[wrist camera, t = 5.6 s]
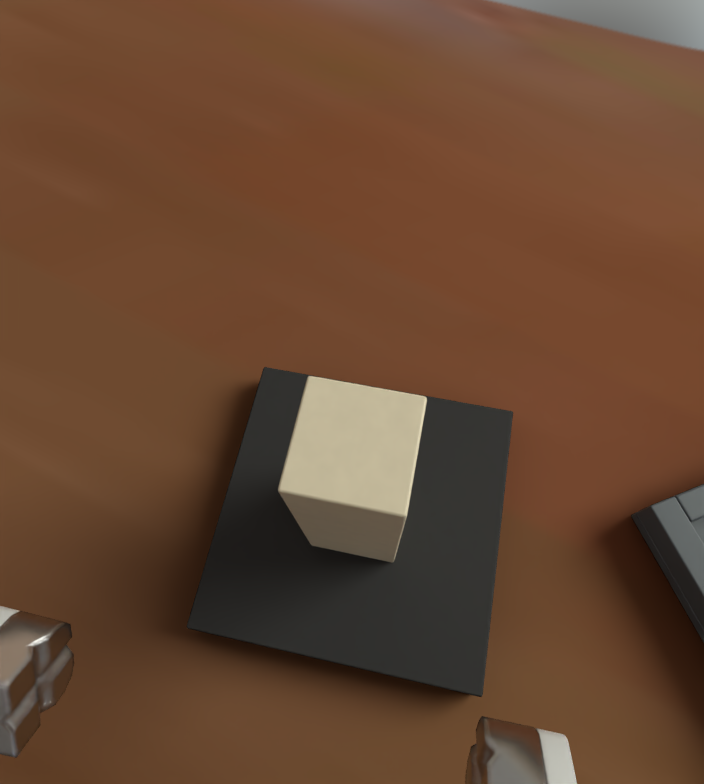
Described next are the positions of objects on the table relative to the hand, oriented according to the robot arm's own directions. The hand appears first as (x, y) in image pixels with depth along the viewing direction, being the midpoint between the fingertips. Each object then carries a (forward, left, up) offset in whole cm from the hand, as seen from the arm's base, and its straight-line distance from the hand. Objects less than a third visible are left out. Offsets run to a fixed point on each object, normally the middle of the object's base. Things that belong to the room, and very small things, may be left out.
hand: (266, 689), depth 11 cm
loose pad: (+3, +4, -10) cm, 11 cm away
